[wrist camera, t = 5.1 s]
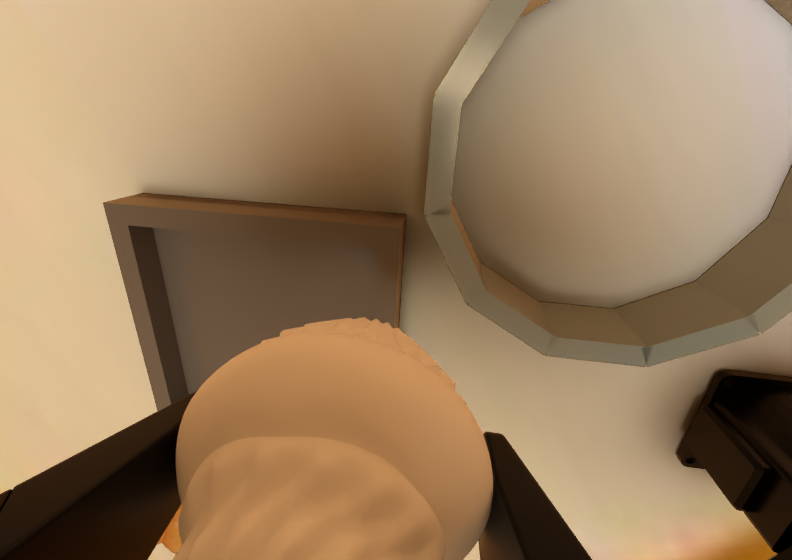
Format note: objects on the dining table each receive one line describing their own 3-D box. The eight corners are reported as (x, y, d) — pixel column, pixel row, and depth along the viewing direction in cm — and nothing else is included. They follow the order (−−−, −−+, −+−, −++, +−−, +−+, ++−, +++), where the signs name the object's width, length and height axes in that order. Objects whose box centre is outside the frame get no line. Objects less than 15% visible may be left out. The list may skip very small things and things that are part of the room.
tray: (406, 214, 18) (400, 227, 16) (392, 428, 24) (386, 461, 22) (142, 193, 20) (102, 202, 17) (187, 401, 25) (162, 429, 23)
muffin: (236, 273, 10) (-150, 557, 3) (472, 255, 9) (539, 608, 2) (290, 448, 12) (121, 808, 6) (482, 449, 11) (529, 885, 5)
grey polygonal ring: (933, -71, 12) (1101, -136, 9) (734, 339, 19) (793, 383, 16) (450, -75, 14) (452, -132, 11) (418, 306, 20) (413, 341, 17)
